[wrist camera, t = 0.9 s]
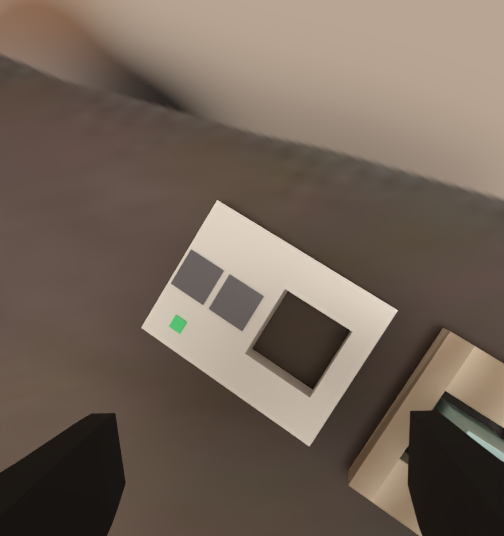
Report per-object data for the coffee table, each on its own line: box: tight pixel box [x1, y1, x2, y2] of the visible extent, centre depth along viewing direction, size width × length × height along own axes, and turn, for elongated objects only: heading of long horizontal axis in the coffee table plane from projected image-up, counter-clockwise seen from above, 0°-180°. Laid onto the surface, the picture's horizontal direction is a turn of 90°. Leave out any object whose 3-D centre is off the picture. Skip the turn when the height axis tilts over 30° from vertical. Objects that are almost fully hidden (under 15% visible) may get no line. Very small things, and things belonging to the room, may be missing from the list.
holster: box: [348, 328, 504, 536], centre depth 25 cm, size 8×10×2 cm
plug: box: [433, 397, 504, 462], centre depth 22 cm, size 3×3×8 cm
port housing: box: [141, 200, 398, 447], centre depth 27 cm, size 12×9×2 cm
